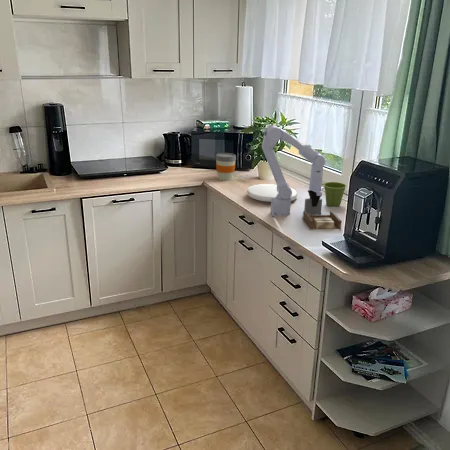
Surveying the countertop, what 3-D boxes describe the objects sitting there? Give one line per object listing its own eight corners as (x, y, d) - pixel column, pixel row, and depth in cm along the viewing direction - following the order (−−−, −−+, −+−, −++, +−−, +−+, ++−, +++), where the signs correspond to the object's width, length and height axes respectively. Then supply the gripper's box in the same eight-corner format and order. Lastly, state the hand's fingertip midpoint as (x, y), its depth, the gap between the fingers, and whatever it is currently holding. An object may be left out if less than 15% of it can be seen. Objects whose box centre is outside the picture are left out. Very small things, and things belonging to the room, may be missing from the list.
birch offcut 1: (314, 226, 214) (315, 220, 213) (313, 224, 216) (313, 218, 214) (331, 225, 214) (332, 219, 213) (330, 224, 216) (330, 218, 215)
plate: (283, 181, 271) (307, 194, 248) (281, 192, 273) (305, 206, 250) (240, 180, 260) (261, 193, 237) (238, 191, 262) (259, 206, 239)
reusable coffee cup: (212, 180, 287) (213, 156, 282) (218, 175, 299) (219, 152, 293) (232, 182, 284) (232, 157, 279) (237, 177, 295) (238, 153, 290)
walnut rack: (310, 231, 210) (311, 221, 208) (302, 220, 223) (303, 210, 221) (340, 231, 211) (341, 220, 210) (331, 220, 224) (332, 210, 223)
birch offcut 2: (316, 228, 211) (316, 222, 210) (315, 226, 213) (315, 220, 212) (333, 228, 212) (334, 222, 211) (332, 226, 213) (332, 220, 212)
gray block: (304, 215, 229) (306, 199, 226) (303, 213, 231) (305, 198, 228) (320, 214, 230) (322, 199, 227) (319, 213, 232) (321, 198, 229)
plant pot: (327, 200, 254) (330, 180, 250) (348, 205, 247) (350, 184, 243) (317, 205, 245) (319, 184, 241) (337, 210, 238) (340, 189, 234)
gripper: (328, 182, 218) (325, 210, 222) (320, 174, 231) (317, 200, 236) (314, 182, 217) (311, 210, 222) (306, 174, 230) (303, 201, 235)
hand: (313, 205), depth 229 cm, fingers closed on gray block, 2 cm apart
